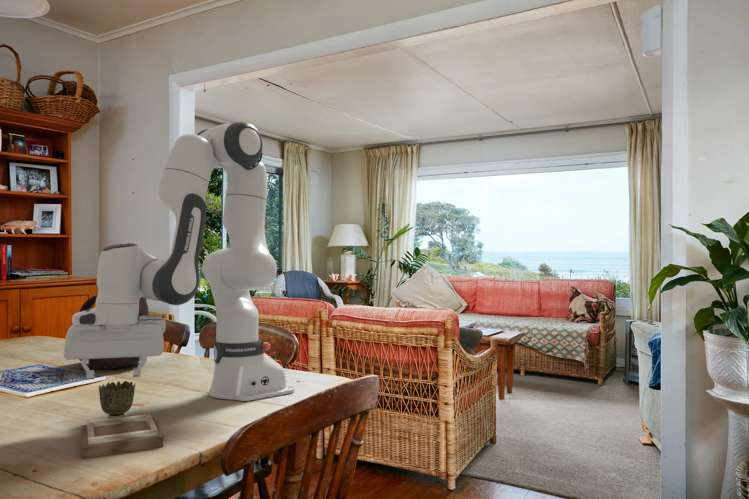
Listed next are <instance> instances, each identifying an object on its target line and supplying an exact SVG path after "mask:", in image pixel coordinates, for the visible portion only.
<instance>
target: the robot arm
mask: <svg viewBox="0 0 749 499" xmlns="http://www.w3.org/2000/svg"><path fill="white" fill-rule="evenodd" d="M262 158H263V139H262V136H261V134H260V131H259V129H257V128H256V126H254V125H253V124H251V123H247V122H243V121H235V122H233V123H232V122H231V123H224V124H219V125H217V126H214V127H211V128H207V129H203V130H200V131H199V132H198V133H197V134H194V133H188V134H187V133H186V134H183V135H180V136H179V137H178V138H177V140H175V142H174V144H173V146H172V148H171V150H170V153H169V154H168V157H167V159H166V162H165V164H164V168H163V170H162V173H161V176H160V180H159V188H158V196H159V199H160V200H161V202H162V204H163V205H164V207H166V208H167V209H168V210H170V211H171V212H172V213H173V215H174V216H175V220H176V221H175V222H176V224H175V229H174V234H173V239H172V245H171V250H170V253H169V255H168V257H167V258H166V259H160V258H158V257H156V256H154V255H151V254H149V252H146V251H145V250H143V249H142V248H141V247H140V246H139V245H138V244H136V243H127V242H126V243H119V244H118V243H117V244H111V245H107V246H105V247H104V248H103V249H102V250H101V252H100V255H99V260H98V263H97V264H98V265H97V272H96V273H97V274H96V285H97V295H98V296H97V298H96V303H95V304H94V305H95V307H93V308H91V309H88V310H86V311H82V312H76V313H74V314H72V317H71V322H72V325H71V326H70V327H69V329H68V330H67V333H66V336H65V341H64V344H63V352H62V353H63V354H62V356H63V358H65V359H66V360H67V361H71V360H79V359H82V362H81V361H80V362H81V366H82V367H83V369H84V371H85V372H86V375H85V376H86V378H85V380H86V381H87V380H89V381H90V380H95V370H94V369H91V370H90V368H89V365H87V364H89V359H99V358H122V357H139V360H140V361H139V364H138V365H137V367H133V369H132V370H133V372H132V376H133V378H138V377H139V378H140V377H141V376H142V375H141V374H142V369H143V368H144V366H145V364H146V363H147V362H148V357H160V356H161V355H162V354H163V353H164V352H165V349H164V348H165V345H164V344H165V342H164V333H165V332H166V329H167V328H166V327H167V322H166V320H165V318H163V317H162V316H160V315H158V314H152V315H149V316H148V315H138V314H139V299H140V298H141V297H143V298H146V300H152V301H157V302H163V303H166V304H168V305H171V306H172V305H173V306H181V305H183V304H186V303H188V302H189V301H191V300H192V299H193V298H194V297H195V295H196V293H197V292H198V290H199V288H200V269H199V267H200V265H199V264H200V263H199V262H200V254H201V249H202V242H203V238H204V233H205V226H206V218H207V205H206V198H207V192H208V188H209V184H210V180H211V176H212V172H213V170H215V169H216V170H217V169H224V171H225V174H226V176H227V185H226V190H225V198H224V205H223V215H222V225H223V227H224V229H225V231H226V232H227V235H228V238H229V239H228V240H229V248H227V247H225V248H220V249H217V250H214V251H212V252H210V253H209V254H208V255H206V257H205V258H204V260H203V263H202V268H201V269H202V274H203V277H204V279H206V281H207V283H208V285H209V286H210V290H211V294H212V299H213V302H214V307H215V316H216V318H215V319H216V321H215V322H216V325H215V329H216V335H215V339H216V340H214V347H213V361H214V369H213V375H212V376H213V377H212V379H211V380H212V381H211V385H210V389H209V391H208V395H209V396H211V398H212V397H213V398H216V399H223V400H235V401H241V402H247V401H253V400H259V399H260V400H261V399H264V398H271V397H276V396H282V395H287V394H292V393H294V392H295V386H294V385H293V384H292V383H291V382H288V381H287V378H286V372H285V370H284V367H283V366H282V365H281V364H279V363H278V362H277V361H276V360H275V359H274V358H272V357H270V356H269V355H268V354H267V353H265V352H266V351H269V350H270V349H271V348H272V346H271V344H270V343H269V342H267V341H263V340H261V339H259V322H260V321H259V317H260V316H259V315H260V314H259V311H258V308H257V307H256V305H255V304H254V302H253V300H252V297H251V294H250V291H256V290H261V289H265V288H267V287H269V286H270V285H272V284H273V282H274V280H275V279H276V277H277V272H278V265H277V262H276V260H275V258H274V256H273V255H272V254H271V253H270V251H269V246H268V242H267V239H266V231H265V229H266V228H265V224H266V223H265V221H266V213H267V210H266V209H267V201H268V174H267V168H266V166H265V164H264V163H263V162H261V161H262Z"/></svg>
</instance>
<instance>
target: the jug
mask: <svg viewBox="0 0 749 499" xmlns="http://www.w3.org/2000/svg"><path fill="white" fill-rule="evenodd" d="M97 296H98V294H96V295H93V296H91V297H90V298H88V299H87V300H85V302H83V304H82V305H81V307H80V308H79V312H82V311H86V310H88V309H93V308H92V307H93V305H95V304H96V298H97ZM149 313H150V311H149V305H148V302H147V299H146V298H143V297H141V298H140V299H139V314H138V315H148V316H150V314H149ZM78 360H79V361H80V362H82V359H78ZM140 362H141V361H140V360H139V357H122V358H99V359H89V364H87V366H88V367H89V366H90V367H92V368H96V369H108V370H110V369H111V370H112V369H121V368H125V367H129V366H132V365H134V364H137V363H140Z"/></svg>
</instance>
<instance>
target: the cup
mask: <svg viewBox="0 0 749 499" xmlns="http://www.w3.org/2000/svg"><path fill="white" fill-rule="evenodd" d="M135 388H136V383H133V382H132V381H130V382H129V381H127V380H124V381H123V382H121V381H119V380H118V381H117V382H116V383H115V382H114V381H111V382H110V381H109V382H107V384H106V385H105V384H104V383H102V385H100V384H99V385H98V392H99V403H100V407H101V409H102V411H103V412H104V413H105V414H106V415H107V418H106V419H112V418H121V417H127V416H126V413H128V411H130V409H131V408H132V405H133V402H134V397H135V396H134V395H135V390H136V389H135Z"/></svg>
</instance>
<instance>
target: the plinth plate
mask: <svg viewBox="0 0 749 499" xmlns="http://www.w3.org/2000/svg"><path fill="white" fill-rule="evenodd" d="M80 428H81V429H80V430H81V431H80V432H81V435H80V436H81V437H80V438H81V442H80V443H81V459H88V458H94V457H102V456H108V455H113V454H114V455H115V454H122V453H127V452H129V453H130V452H134V451H135V452H136V451H140V450H141V451H142V450H148V449H157V448H162V447H164V446H165V445H164V440H165V436H164V434H163V431H162V430H161V427H160V425H159V422H158V421H157V419H156V416H152V415H151V413H148V414H147V413H146V414H139V415H131V416H126V417H121V418H112V419H108V418H105V419H95V420H88V421H87V422H86V424H85V425H81V427H80Z"/></svg>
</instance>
